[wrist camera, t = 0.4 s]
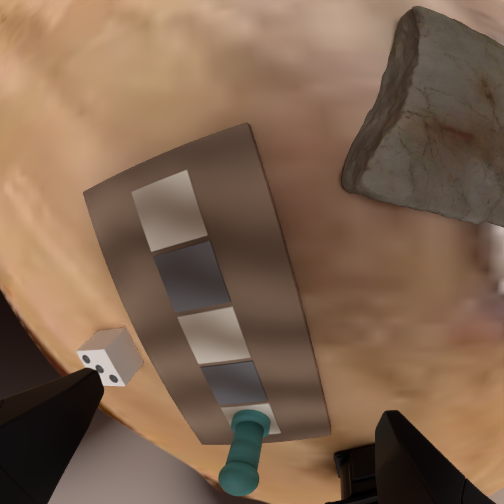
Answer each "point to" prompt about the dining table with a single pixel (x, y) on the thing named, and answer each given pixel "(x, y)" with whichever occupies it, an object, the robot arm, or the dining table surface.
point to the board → (212, 286)
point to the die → (111, 356)
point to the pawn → (244, 452)
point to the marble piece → (435, 123)
